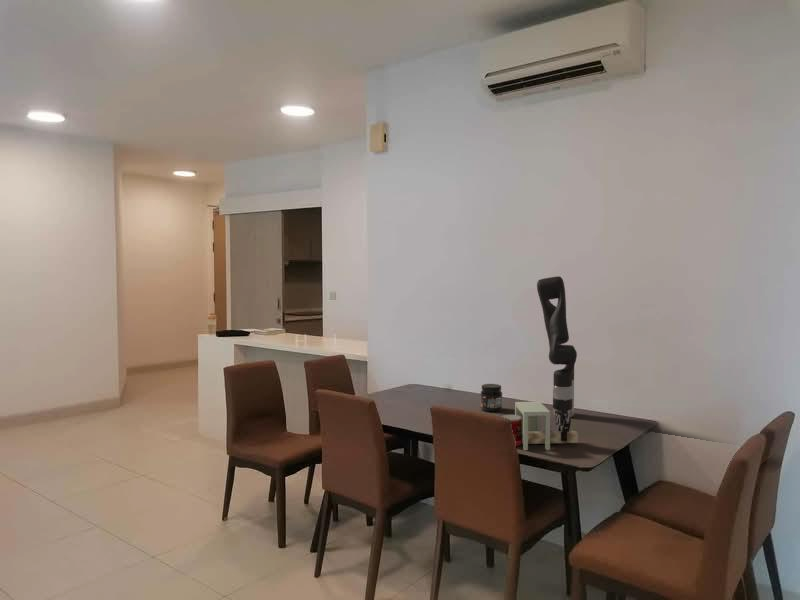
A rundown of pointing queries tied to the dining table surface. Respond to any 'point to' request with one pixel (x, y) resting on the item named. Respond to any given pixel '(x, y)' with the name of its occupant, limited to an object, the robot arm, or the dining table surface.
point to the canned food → (516, 427)
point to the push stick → (551, 437)
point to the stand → (533, 420)
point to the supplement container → (491, 397)
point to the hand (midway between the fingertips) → (562, 439)
